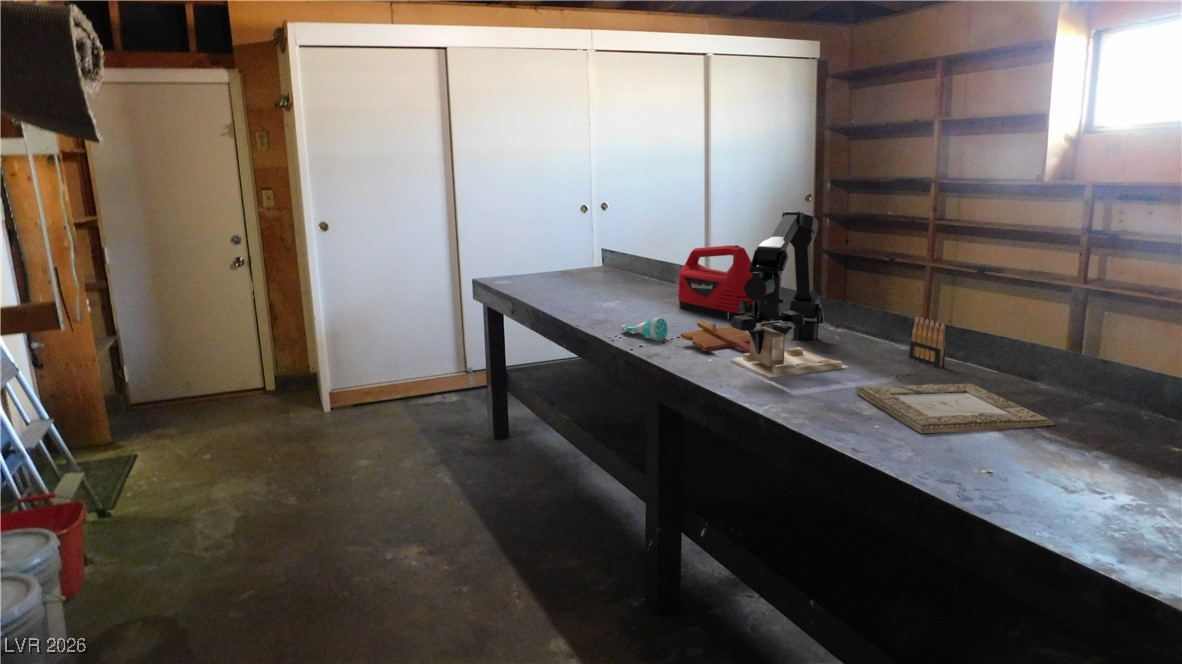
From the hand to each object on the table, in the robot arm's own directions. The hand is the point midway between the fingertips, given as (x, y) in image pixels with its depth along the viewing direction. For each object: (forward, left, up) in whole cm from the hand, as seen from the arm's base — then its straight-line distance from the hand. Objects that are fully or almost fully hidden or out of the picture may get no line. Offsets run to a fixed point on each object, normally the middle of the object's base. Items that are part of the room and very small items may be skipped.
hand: (766, 352), depth 191 cm
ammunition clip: (-43, +11, -5) cm, 45 cm away
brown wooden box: (0, 0, -2) cm, 2 cm away
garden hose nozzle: (+13, -50, -5) cm, 52 cm away
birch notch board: (-7, 0, -4) cm, 8 cm away
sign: (-2, -22, -4) cm, 22 cm away
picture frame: (-19, +42, -5) cm, 46 cm away
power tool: (-27, -71, -5) cm, 77 cm away
